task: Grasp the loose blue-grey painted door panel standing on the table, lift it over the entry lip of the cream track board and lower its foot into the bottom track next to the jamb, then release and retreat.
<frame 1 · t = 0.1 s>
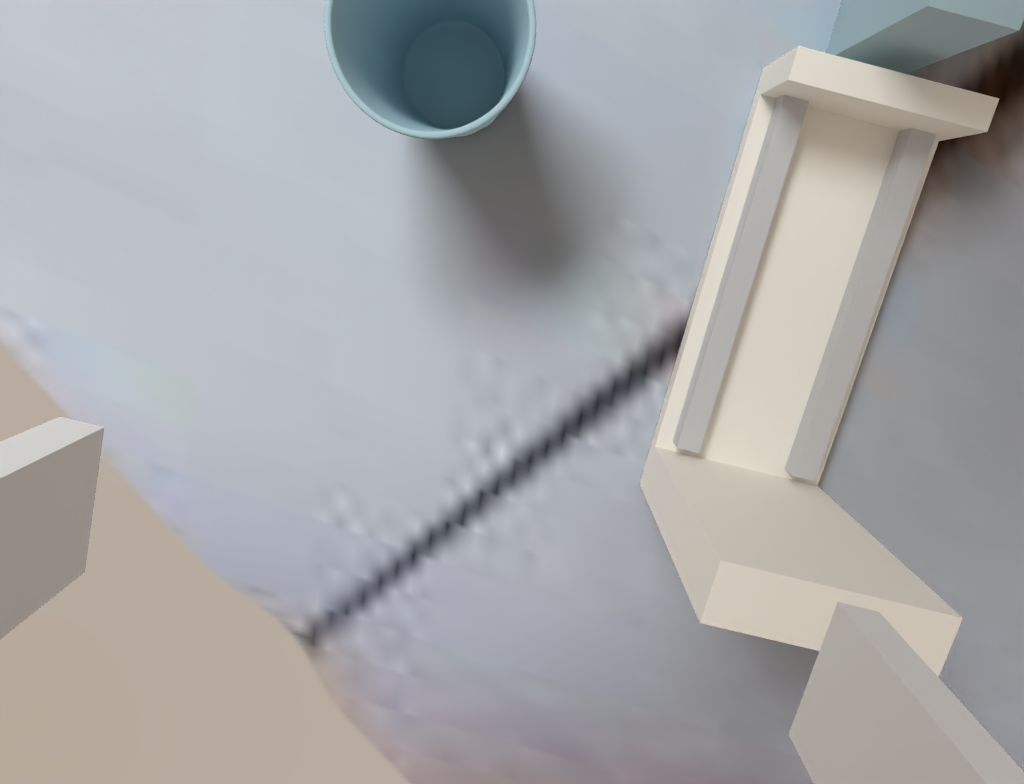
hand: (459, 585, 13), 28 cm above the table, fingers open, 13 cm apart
cup: (455, 79, 38), on the table
track board: (780, 309, 40), on the table
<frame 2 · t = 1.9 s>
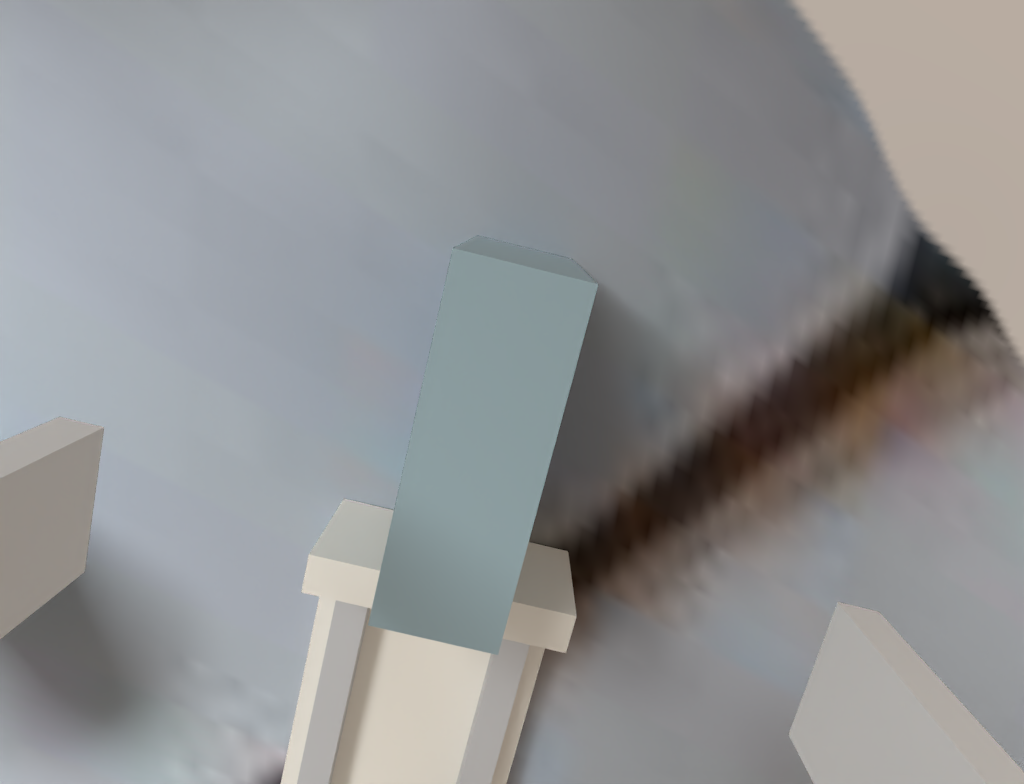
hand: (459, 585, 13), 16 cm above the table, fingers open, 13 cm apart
door panel: (492, 379, 29), on the table
track board: (398, 760, 33), on the table
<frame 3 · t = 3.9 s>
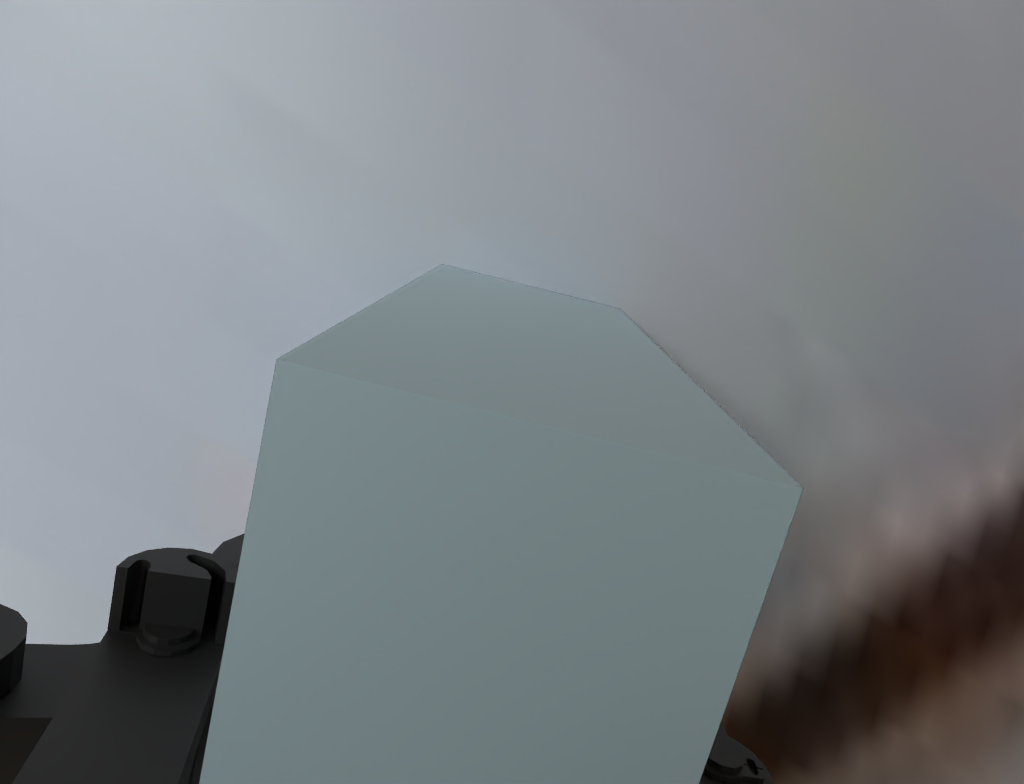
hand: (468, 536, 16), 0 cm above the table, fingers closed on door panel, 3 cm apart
door panel: (471, 524, 16), on the table, touching gripper
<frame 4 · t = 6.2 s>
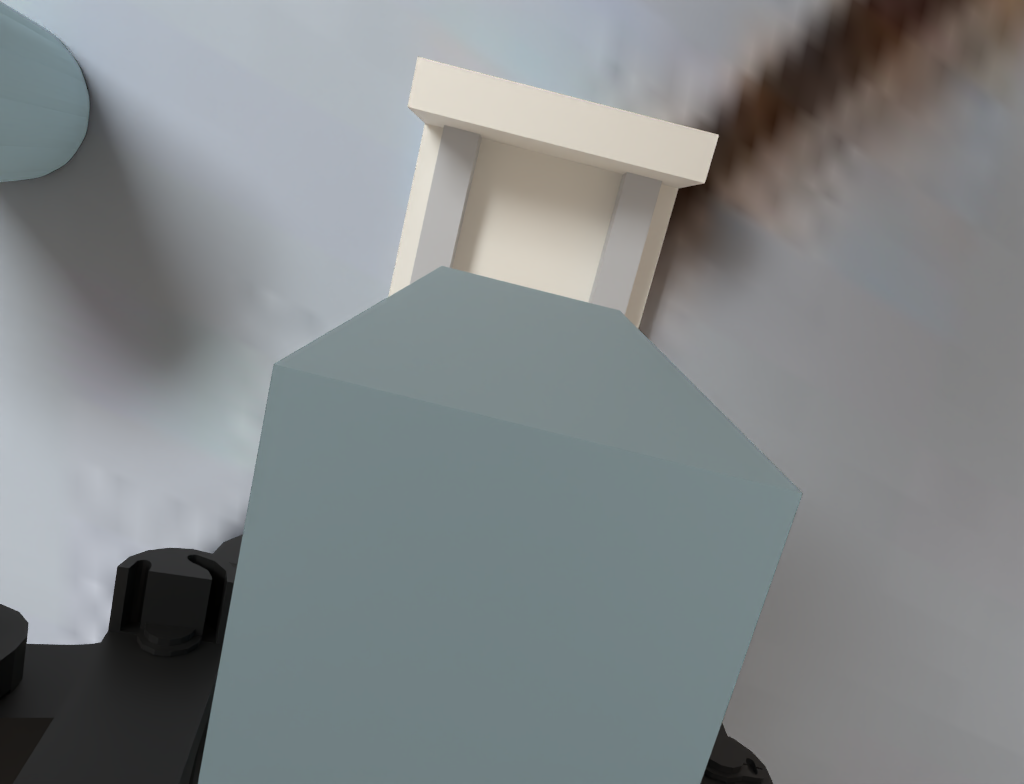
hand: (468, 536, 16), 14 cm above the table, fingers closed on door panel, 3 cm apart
cup: (18, 100, 28), on the table
door panel: (471, 526, 16), point 14 cm above the table, touching gripper
track board: (488, 411, 30), on the table
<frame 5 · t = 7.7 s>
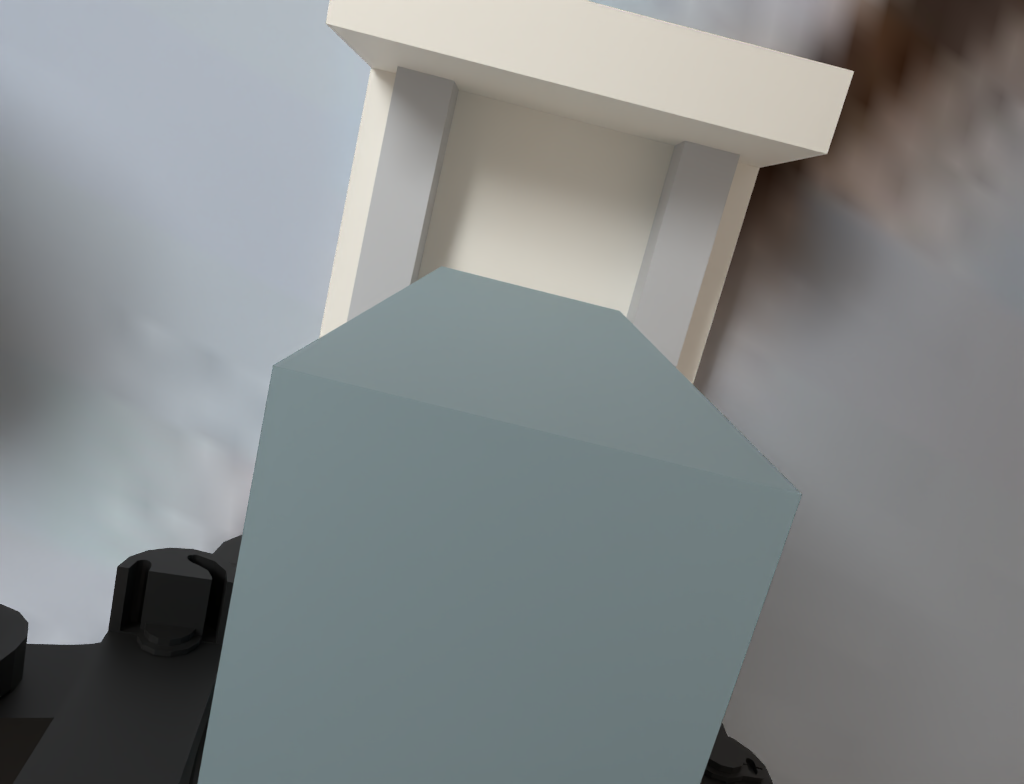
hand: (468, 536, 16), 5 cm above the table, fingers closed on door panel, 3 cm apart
door panel: (470, 526, 16), point 4 cm above the table, touching gripper
track board: (472, 494, 20), on the table
when the fingers open (3 cm above the table, at t = 8.7 s): door panel drops 2 cm, resting on track board.
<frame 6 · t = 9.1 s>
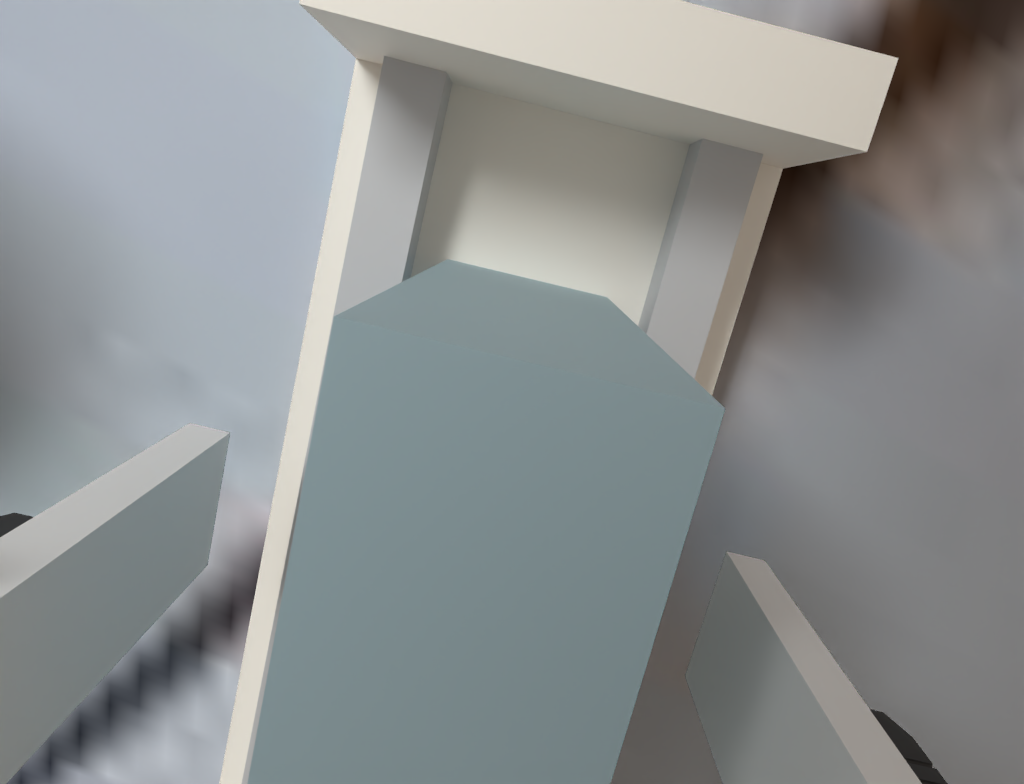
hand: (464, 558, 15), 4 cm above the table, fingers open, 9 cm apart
door panel: (476, 493, 18), point 1 cm above the table, touching track board
track board: (468, 523, 19), on the table
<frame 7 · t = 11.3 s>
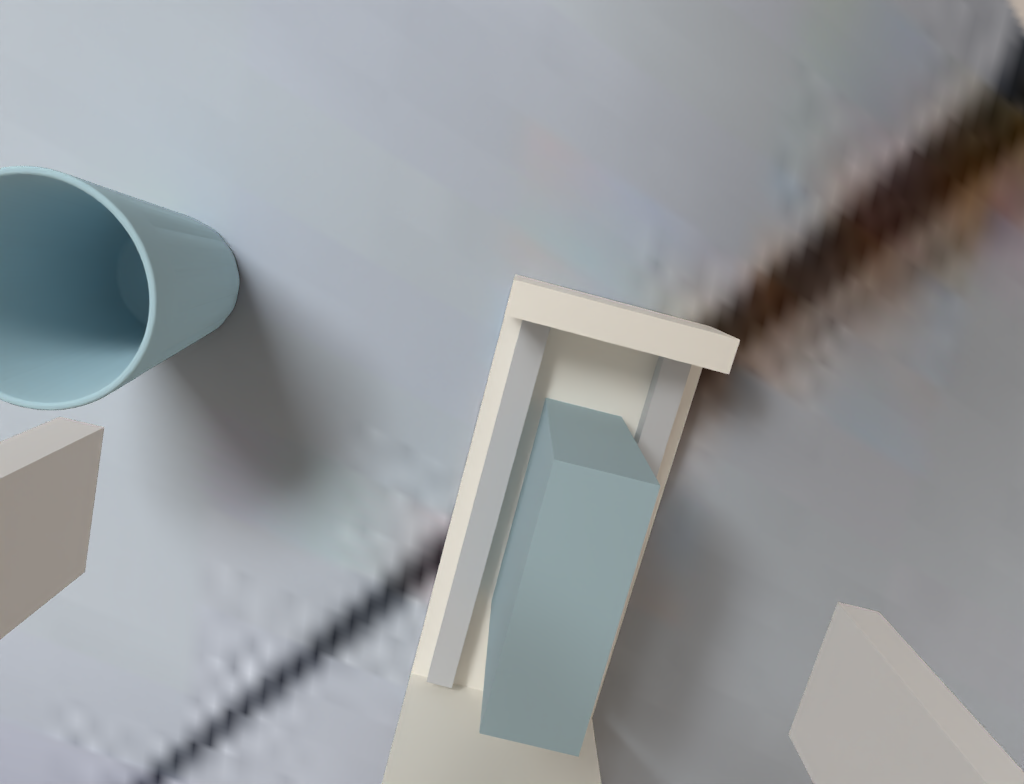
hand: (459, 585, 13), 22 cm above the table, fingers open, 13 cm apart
cup: (181, 277, 35), on the table
door panel: (555, 510, 35), point 1 cm above the table, touching track board
track board: (547, 526, 36), on the table
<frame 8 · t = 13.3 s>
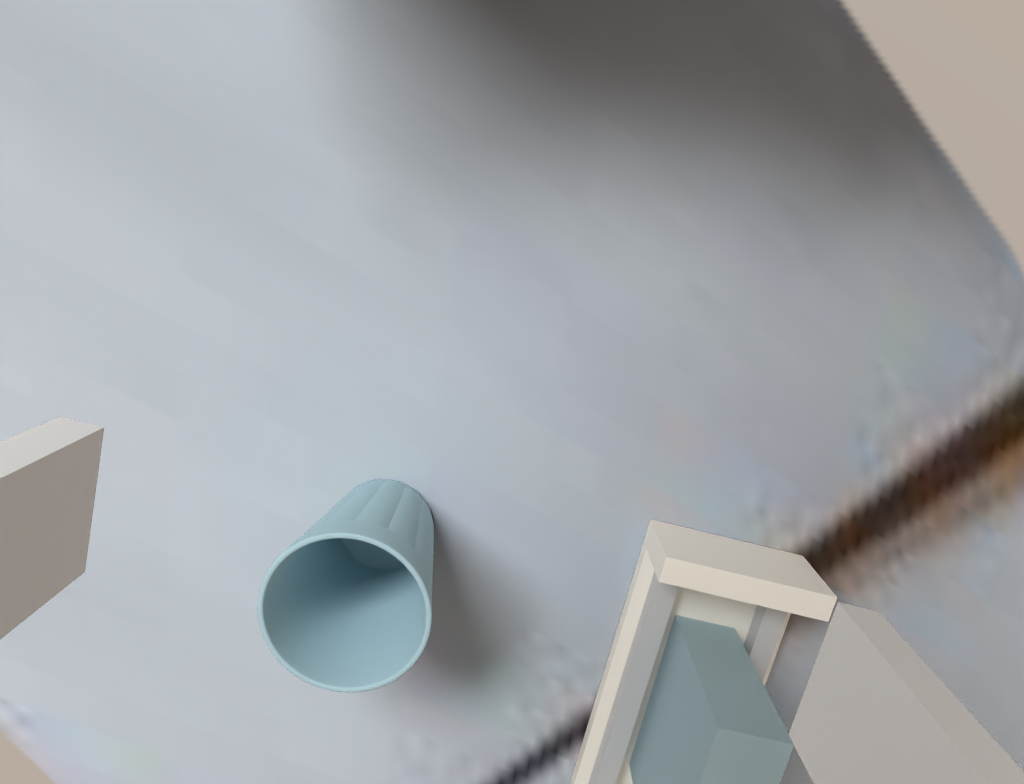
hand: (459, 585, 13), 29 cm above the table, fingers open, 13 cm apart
cup: (386, 522, 44), on the table
door panel: (680, 697, 45), point 1 cm above the table, touching track board
track board: (671, 703, 46), on the table
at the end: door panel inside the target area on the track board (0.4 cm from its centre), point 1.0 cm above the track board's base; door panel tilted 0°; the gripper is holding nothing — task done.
